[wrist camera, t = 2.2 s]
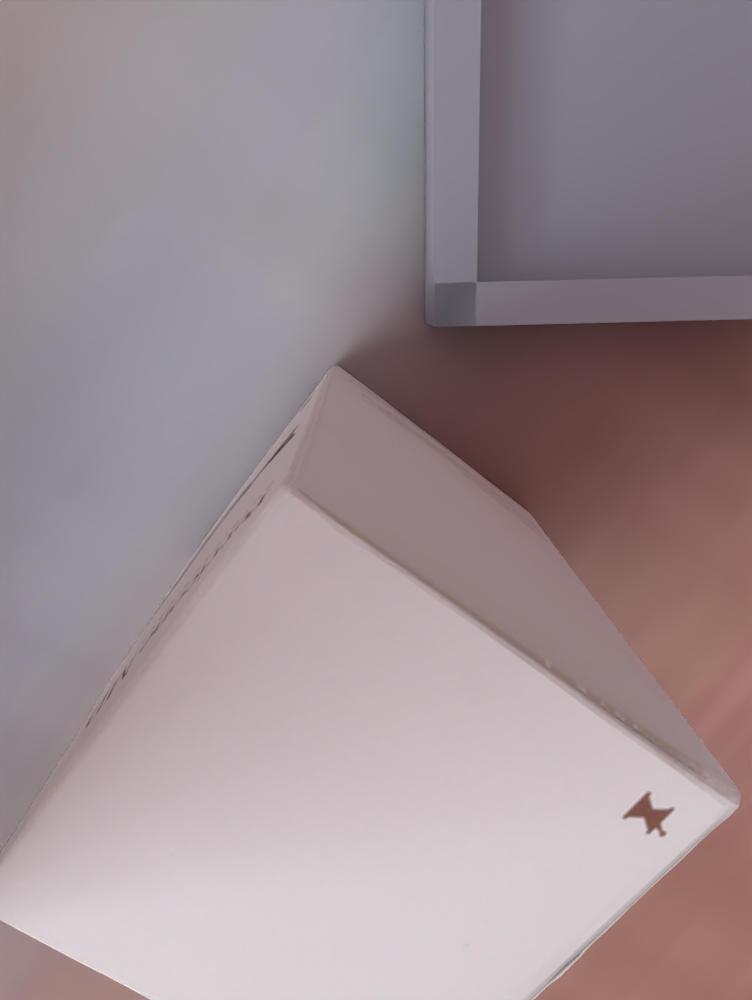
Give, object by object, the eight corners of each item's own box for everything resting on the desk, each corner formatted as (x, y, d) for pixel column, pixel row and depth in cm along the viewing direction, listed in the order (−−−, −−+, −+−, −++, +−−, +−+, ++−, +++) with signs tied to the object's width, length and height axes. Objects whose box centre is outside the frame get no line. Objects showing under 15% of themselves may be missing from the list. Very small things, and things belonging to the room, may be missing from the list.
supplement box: (333, 355, 20) (293, 456, 8) (535, 512, 21) (776, 814, 9) (181, 556, 21) (-57, 911, 9) (379, 691, 23) (404, 1155, 10)
